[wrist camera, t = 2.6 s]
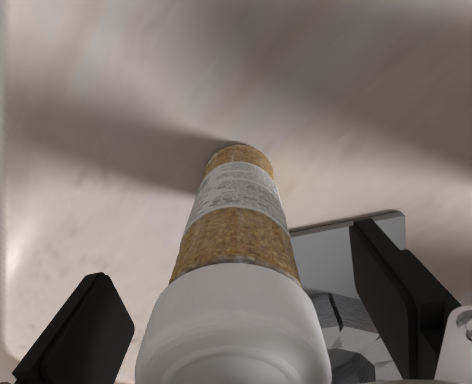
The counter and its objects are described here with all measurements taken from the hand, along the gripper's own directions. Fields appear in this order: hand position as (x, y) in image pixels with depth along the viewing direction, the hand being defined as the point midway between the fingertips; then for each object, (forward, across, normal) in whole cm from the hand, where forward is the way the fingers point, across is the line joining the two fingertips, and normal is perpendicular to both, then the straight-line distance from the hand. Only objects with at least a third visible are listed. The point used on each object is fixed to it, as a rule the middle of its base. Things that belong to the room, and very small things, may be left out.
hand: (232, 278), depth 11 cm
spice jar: (+9, 0, -1) cm, 9 cm away
